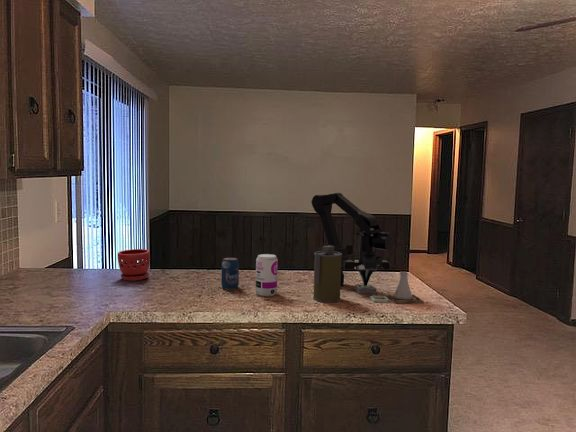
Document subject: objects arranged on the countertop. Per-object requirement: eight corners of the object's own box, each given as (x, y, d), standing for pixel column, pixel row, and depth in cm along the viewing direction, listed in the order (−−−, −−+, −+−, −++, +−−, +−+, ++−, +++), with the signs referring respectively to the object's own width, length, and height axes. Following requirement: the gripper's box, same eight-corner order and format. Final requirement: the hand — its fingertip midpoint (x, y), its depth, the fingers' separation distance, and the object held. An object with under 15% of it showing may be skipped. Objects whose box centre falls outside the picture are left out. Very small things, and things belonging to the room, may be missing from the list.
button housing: (358, 293, 190) (359, 288, 190) (354, 289, 197) (354, 284, 197) (376, 293, 191) (376, 288, 191) (371, 289, 198) (371, 284, 198)
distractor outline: (374, 302, 178) (374, 300, 178) (369, 297, 184) (369, 295, 184) (389, 302, 179) (390, 300, 179) (384, 297, 185) (384, 295, 185)
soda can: (227, 290, 190) (228, 260, 189) (218, 287, 195) (218, 258, 194) (242, 288, 194) (242, 258, 193) (232, 284, 200) (232, 256, 198)
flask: (413, 301, 181) (414, 274, 180) (393, 299, 182) (394, 273, 182) (412, 296, 188) (413, 271, 187) (393, 295, 190) (394, 269, 189)
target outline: (396, 303, 177) (396, 300, 177) (388, 296, 187) (388, 294, 187) (423, 303, 178) (423, 300, 178) (413, 296, 188) (413, 293, 188)
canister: (325, 293, 189) (326, 243, 187) (346, 299, 181) (348, 246, 179) (306, 298, 181) (307, 245, 179) (327, 304, 174) (329, 249, 172)
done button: (361, 291, 192) (361, 286, 192) (359, 289, 196) (359, 284, 196) (371, 291, 192) (371, 286, 192) (368, 289, 196) (368, 284, 196)
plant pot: (137, 274, 216) (137, 247, 215) (156, 278, 208) (156, 250, 207) (111, 278, 205) (111, 251, 204) (130, 283, 198) (130, 254, 197)
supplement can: (280, 292, 188) (281, 255, 187) (270, 297, 181) (271, 258, 180) (262, 290, 192) (262, 253, 190) (251, 295, 184) (252, 256, 183)
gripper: (348, 250, 183) (347, 290, 185) (396, 250, 185) (394, 290, 187) (342, 245, 194) (340, 283, 196) (387, 246, 196) (385, 283, 198)
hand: (365, 285), depth 194 cm, fingers closed, pressing on done button
